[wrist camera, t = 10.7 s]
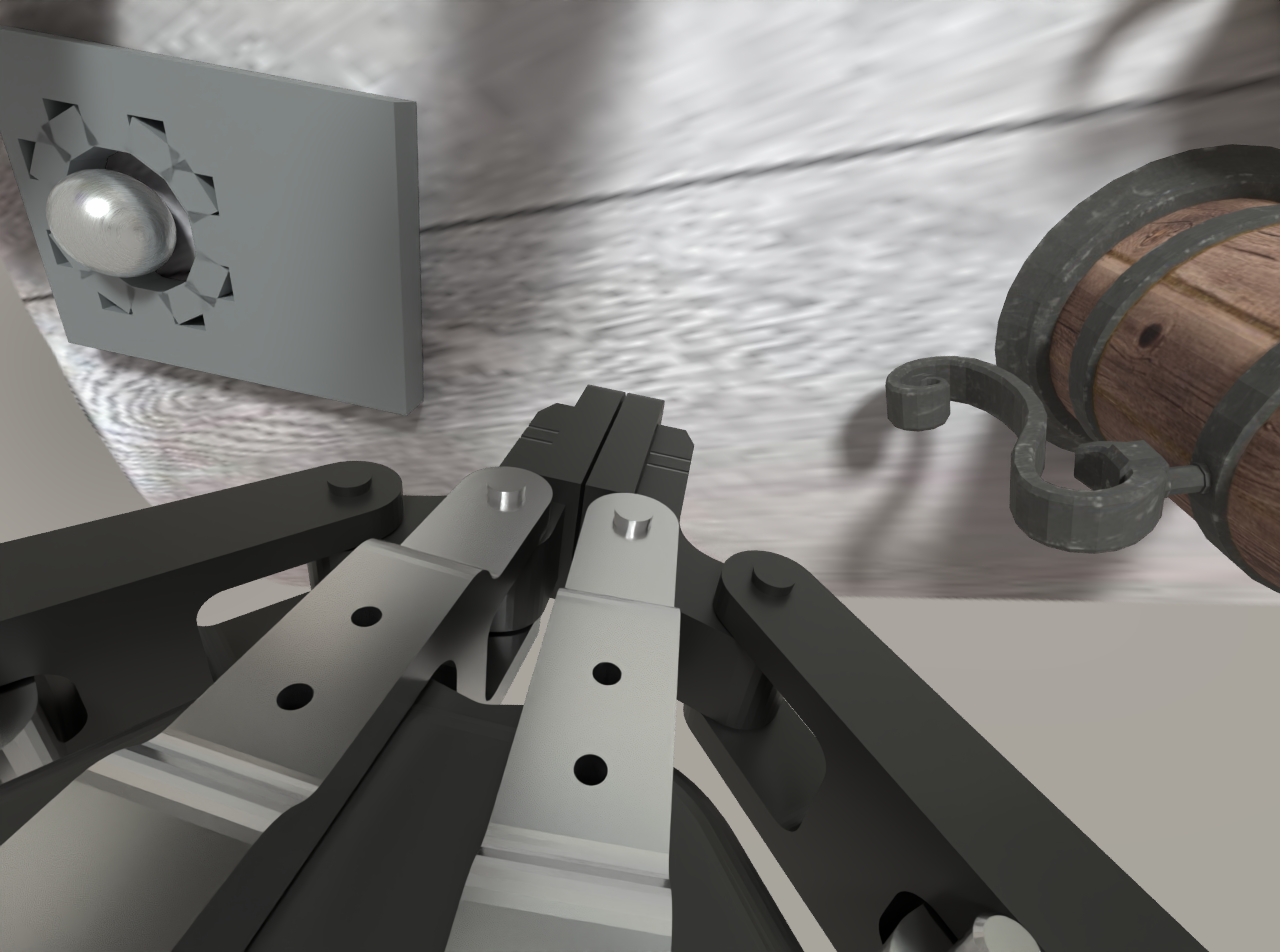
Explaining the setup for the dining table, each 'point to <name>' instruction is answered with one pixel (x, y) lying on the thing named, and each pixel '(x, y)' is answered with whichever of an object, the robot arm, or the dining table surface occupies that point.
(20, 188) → the grey gear-hole plate
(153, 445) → the dining table surface
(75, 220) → the ball
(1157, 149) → the dining table surface
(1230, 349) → the tankard
